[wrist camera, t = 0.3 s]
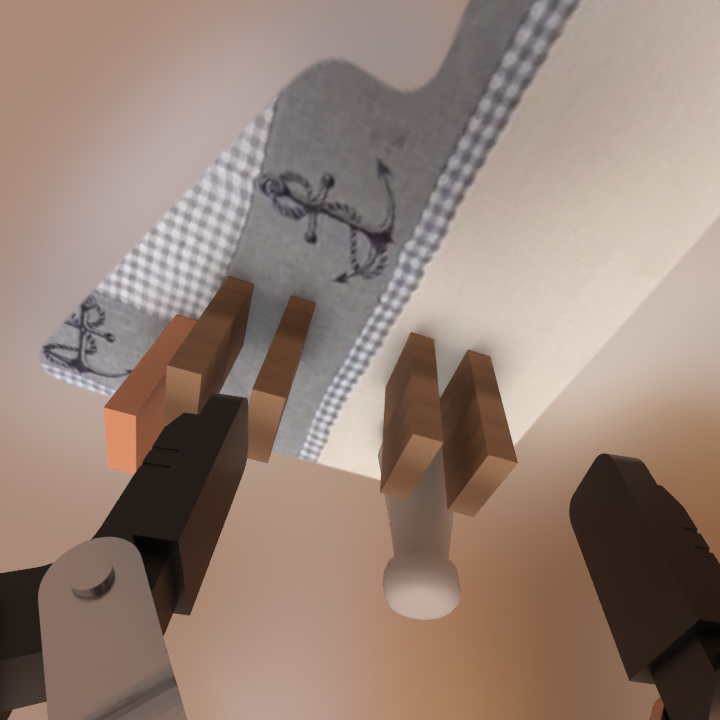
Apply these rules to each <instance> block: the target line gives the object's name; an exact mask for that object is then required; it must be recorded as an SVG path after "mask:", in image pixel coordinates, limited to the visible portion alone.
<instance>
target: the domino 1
mask: <svg viewBox="0 0 720 720" xmlns="http://www.w3.org/2000/svg"><path fill="white" fill-rule="evenodd" d="M196 323H197V320H193V319H190V318H186V317H183V316H180V315H176V316H175V317H174V319H173V320H172V321H171V322H170V324H169V325H168V326H167V328H166V329H165V330H164V331H163V333H162V334H161V335H160V336H159V338H158V339H157V340H156V342H155V343H154V344H153V345H152V347H151V348H150V349H149V350H148V352H147V353H146V354H145V356H144V357H143V358H142V359H141V361H140V362H139V363H138V364H137V366H136V367H135V368H134V370H133V371H132V372H131V373H130V375H129V376H128V377H127V379H126V380H125V381H124V382H123V384H122V385H121V386H120V387H119V389H118V390H117V391H116V393H115V394H114V395H113V396H112V398H111V399H110V400H109V401H108V403H107V404H106V405H105V407H104V418H105V433H106V447H107V462H108V468H111V469H115V470H119V471H123V472H127V473H131V474H135V473H136V471H137V469H138V468H139V466H142V462H143V460H144V458H145V457H146V455H147V454H148V452H149V451H150V450H151V449H152V446H153V444H154V443H155V441H156V440H157V438H158V436H159V435H160V433H161V432H162V430H163V429H164V412H165V392H166V373H167V364H168V363H169V361H170V360H171V359H172V357H173V356H174V354H175V353H176V351H177V350H178V348H179V347H180V346H181V344H182V343H183V341H184V340H185V338H186V337H187V335H188V334H189V333H190V331H191V330H192V328H193V327H194V325H195V324H196Z"/></svg>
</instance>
